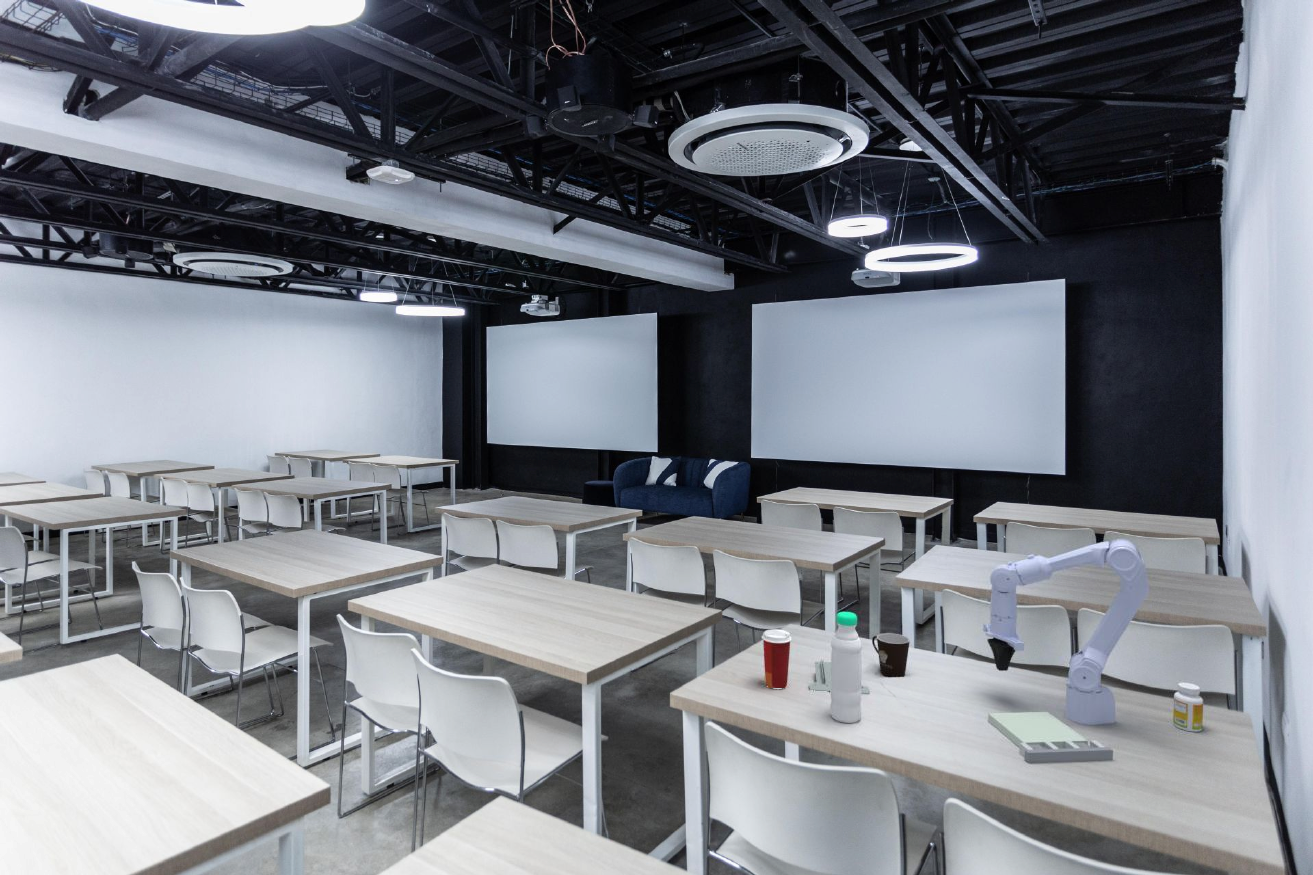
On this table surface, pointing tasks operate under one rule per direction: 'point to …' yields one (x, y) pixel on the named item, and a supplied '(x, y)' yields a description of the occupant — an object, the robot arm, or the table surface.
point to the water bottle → (846, 670)
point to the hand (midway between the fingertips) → (1002, 669)
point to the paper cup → (776, 657)
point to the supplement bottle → (1188, 708)
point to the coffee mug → (892, 654)
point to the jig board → (1066, 753)
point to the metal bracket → (827, 678)
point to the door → (1036, 729)
